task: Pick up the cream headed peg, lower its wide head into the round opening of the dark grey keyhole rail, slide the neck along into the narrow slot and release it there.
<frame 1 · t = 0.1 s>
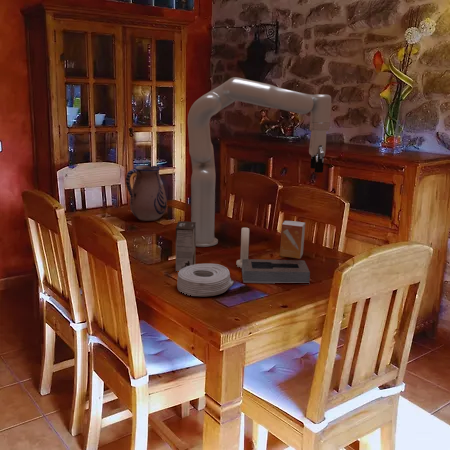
hand: (316, 170, 210), 31 cm above the table, tool pointing down, fingers open, 9 cm apart
coffee box: (185, 268, 188), on the table
small box: (291, 255, 205), on the table
peg: (244, 265, 192), on the table
ceramic pitcher: (146, 220, 251), on the table
cable: (203, 289, 171), on the table
keyhole rail: (274, 277, 182), on the table
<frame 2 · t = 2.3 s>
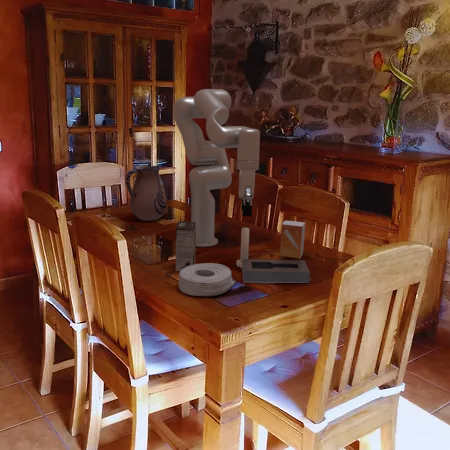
hand: (246, 213, 187), 20 cm above the table, tool pointing down, fingers open, 9 cm apart
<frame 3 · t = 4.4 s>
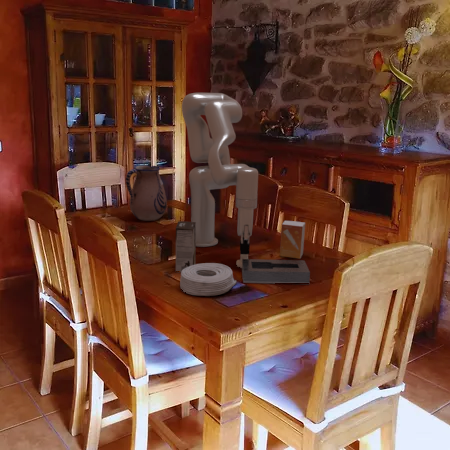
hand: (244, 252, 191), 5 cm above the table, tool pointing down, fingers closed on peg, 2 cm apart
peg: (244, 265, 192), on the table, touching gripper
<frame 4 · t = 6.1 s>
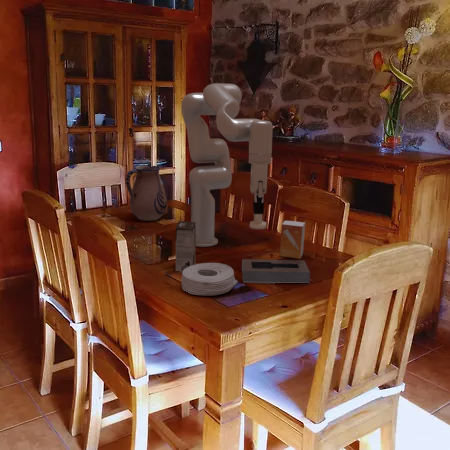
hand: (258, 212, 179), 22 cm above the table, tool pointing down, fingers closed on peg, 2 cm apart
peg: (257, 227, 180), point 17 cm above the table, touching gripper
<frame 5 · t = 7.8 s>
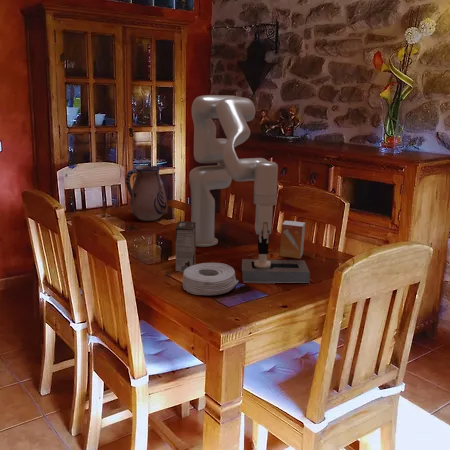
hand: (262, 251, 179), 9 cm above the table, tool pointing down, fingers closed on peg, 2 cm apart
peg: (262, 266, 180), point 4 cm above the table, touching gripper
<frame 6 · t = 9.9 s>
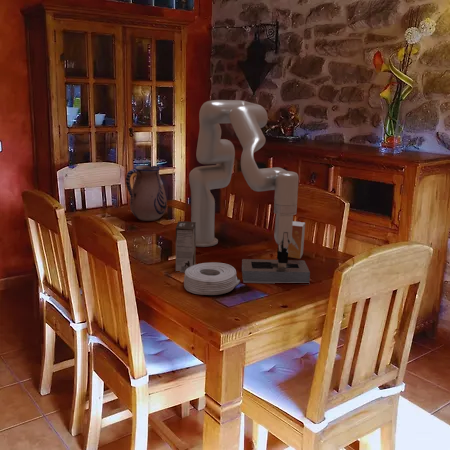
hand: (282, 260, 180), 6 cm above the table, tool pointing down, fingers closed on peg, 2 cm apart
peg: (281, 274, 181), point 1 cm above the table, touching gripper
when the fingers open (6 cm above the table, at t = 11.3 s): peg stays where it is, resting on keyhole rail.
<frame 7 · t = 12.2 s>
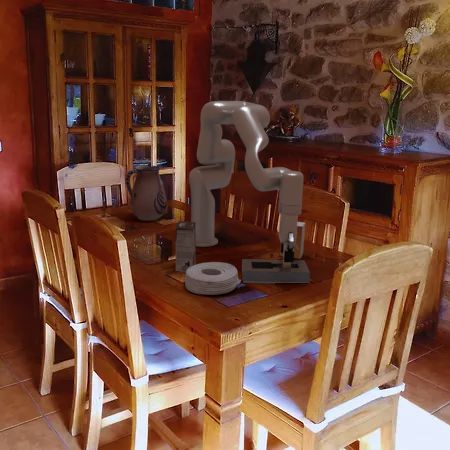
hand: (286, 257, 180), 7 cm above the table, tool pointing down, fingers open, 9 cm apart
peg: (286, 275, 182), point 1 cm above the table, touching keyhole rail
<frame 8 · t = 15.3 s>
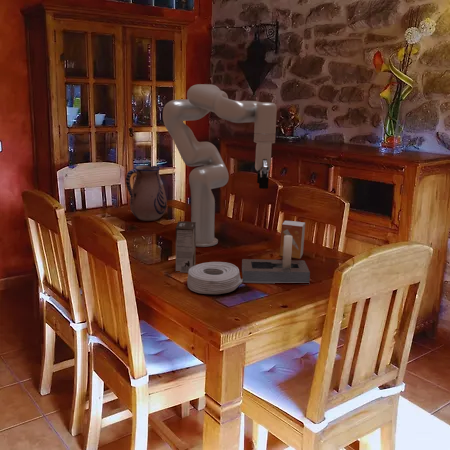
hand: (262, 185, 191), 28 cm above the table, tool pointing down, fingers open, 9 cm apart
at the end: peg 0.3 cm from the target spot on the keyhole rail, point 0.6 cm above the keyhole rail's base; peg tilted 1°; the gripper is holding nothing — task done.
